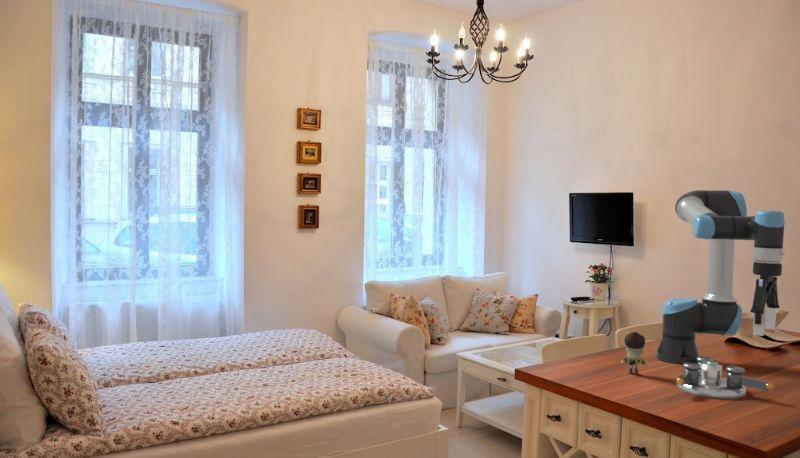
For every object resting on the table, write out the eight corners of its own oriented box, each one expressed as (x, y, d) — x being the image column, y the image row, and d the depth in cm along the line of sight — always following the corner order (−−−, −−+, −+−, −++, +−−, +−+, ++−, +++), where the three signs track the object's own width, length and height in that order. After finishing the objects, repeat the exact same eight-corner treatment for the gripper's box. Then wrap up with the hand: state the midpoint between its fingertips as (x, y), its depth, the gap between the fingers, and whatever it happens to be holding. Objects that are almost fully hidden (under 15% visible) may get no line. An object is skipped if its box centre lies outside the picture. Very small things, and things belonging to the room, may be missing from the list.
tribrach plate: (667, 388, 203) (668, 361, 203) (689, 376, 217) (690, 351, 217) (734, 403, 189) (735, 374, 189) (753, 389, 203) (755, 363, 203)
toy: (647, 372, 221) (649, 330, 220) (646, 378, 214) (648, 334, 214) (621, 369, 225) (622, 327, 224) (619, 374, 218) (620, 331, 217)
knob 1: (685, 379, 205) (686, 361, 205) (702, 382, 202) (703, 364, 201) (669, 387, 196) (670, 369, 195) (687, 391, 192) (688, 372, 192)
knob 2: (709, 378, 207) (710, 361, 206) (693, 375, 210) (694, 358, 210) (723, 371, 216) (724, 354, 216) (707, 368, 220) (708, 351, 219)
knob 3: (722, 386, 198) (723, 368, 198) (728, 383, 202) (729, 365, 202) (770, 396, 189) (771, 377, 189) (775, 392, 193) (776, 373, 192)
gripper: (771, 265, 177) (767, 340, 178) (791, 260, 196) (788, 328, 196) (741, 263, 182) (738, 335, 183) (764, 258, 201) (761, 324, 202)
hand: (764, 332), depth 190 cm, fingers open, 13 cm apart
